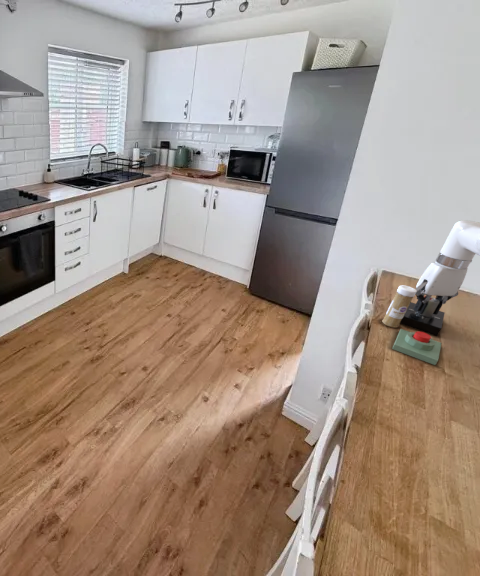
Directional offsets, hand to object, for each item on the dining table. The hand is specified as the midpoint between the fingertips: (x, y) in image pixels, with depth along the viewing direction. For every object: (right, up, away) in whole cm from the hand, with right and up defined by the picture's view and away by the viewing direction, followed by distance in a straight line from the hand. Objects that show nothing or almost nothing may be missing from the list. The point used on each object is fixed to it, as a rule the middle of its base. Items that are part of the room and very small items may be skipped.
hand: (424, 311), depth 121 cm
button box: (-13, -10, -12) cm, 21 cm away
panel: (0, -3, +2) cm, 4 cm away
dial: (0, -1, 0) cm, 1 cm away
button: (-13, -7, -13) cm, 20 cm away
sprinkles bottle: (-12, -4, 0) cm, 13 cm away
